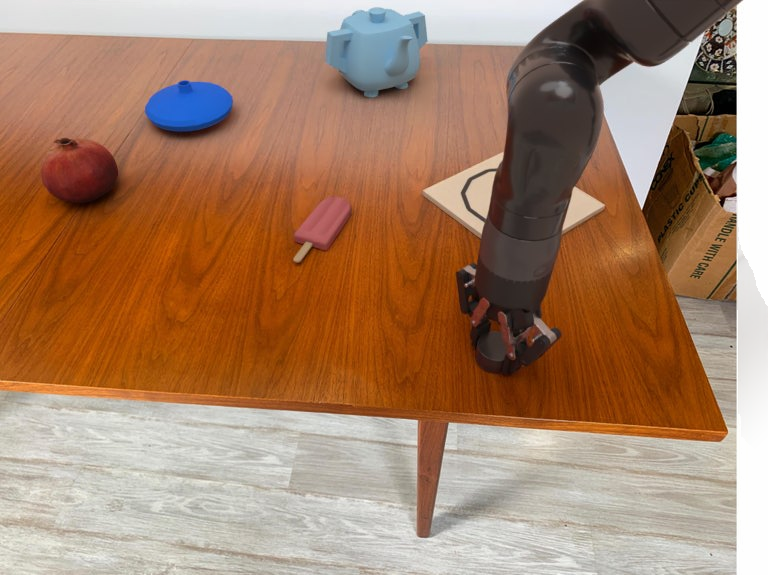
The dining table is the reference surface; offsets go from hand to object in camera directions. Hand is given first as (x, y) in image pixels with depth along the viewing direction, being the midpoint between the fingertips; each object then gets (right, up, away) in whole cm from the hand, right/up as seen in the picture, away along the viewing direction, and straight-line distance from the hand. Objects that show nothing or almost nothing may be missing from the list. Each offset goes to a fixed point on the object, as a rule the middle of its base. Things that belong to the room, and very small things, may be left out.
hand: (493, 356), depth 70 cm
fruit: (-60, +23, +23) cm, 68 cm away
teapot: (-14, +49, +48) cm, 70 cm away
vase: (-49, +40, +39) cm, 74 cm away
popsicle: (-23, +16, +16) cm, 32 cm away
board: (+7, +22, +21) cm, 31 cm away
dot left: (0, 0, 0) cm, 0 cm away
